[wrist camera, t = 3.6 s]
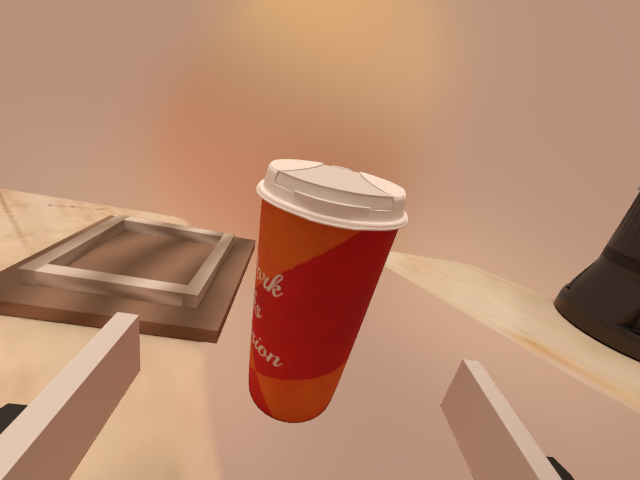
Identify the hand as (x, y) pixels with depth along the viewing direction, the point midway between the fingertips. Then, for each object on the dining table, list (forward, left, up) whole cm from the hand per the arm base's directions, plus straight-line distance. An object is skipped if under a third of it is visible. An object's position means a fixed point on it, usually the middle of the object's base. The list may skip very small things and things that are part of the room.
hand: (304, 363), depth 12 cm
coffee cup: (-1, -6, -9) cm, 11 cm away
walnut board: (+14, -18, -8) cm, 25 cm away
